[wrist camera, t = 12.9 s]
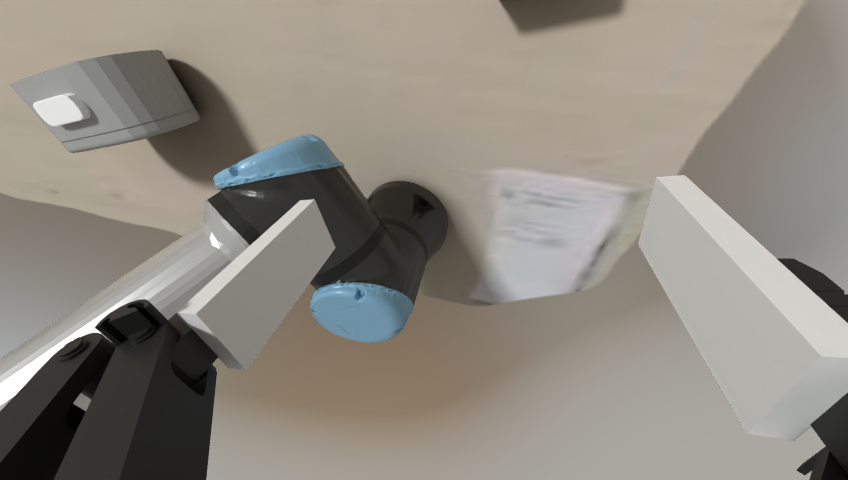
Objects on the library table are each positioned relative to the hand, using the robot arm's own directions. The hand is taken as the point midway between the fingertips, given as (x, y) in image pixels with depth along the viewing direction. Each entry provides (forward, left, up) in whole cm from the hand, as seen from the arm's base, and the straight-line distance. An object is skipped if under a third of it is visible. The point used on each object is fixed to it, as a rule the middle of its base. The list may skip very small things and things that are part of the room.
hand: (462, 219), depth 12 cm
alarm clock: (-54, +6, -33) cm, 64 cm away
